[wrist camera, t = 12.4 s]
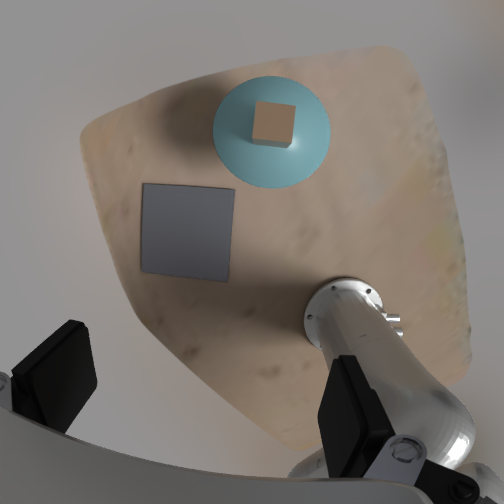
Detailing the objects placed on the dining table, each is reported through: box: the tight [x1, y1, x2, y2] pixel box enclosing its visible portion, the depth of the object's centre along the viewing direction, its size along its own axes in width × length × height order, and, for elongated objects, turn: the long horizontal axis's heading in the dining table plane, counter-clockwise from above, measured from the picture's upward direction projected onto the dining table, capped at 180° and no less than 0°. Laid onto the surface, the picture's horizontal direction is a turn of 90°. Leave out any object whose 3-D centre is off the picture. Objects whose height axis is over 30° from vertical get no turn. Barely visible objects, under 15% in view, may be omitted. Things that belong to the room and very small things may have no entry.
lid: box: [213, 76, 330, 188], centre depth 27 cm, size 12×12×6 cm
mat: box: [142, 184, 235, 282], centre depth 43 cm, size 13×13×1 cm
